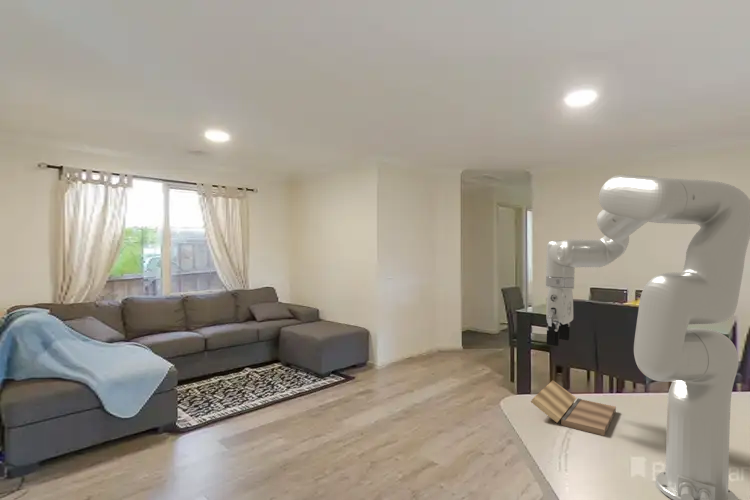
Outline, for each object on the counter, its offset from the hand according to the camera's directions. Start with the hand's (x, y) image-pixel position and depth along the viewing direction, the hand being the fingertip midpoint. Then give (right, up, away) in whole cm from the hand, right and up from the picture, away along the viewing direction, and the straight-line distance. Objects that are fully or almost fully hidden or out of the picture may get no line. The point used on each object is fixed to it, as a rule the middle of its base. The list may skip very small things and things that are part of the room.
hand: (558, 342), depth 122 cm
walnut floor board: (+6, -20, -6) cm, 21 cm away
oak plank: (-2, -17, -1) cm, 17 cm away
